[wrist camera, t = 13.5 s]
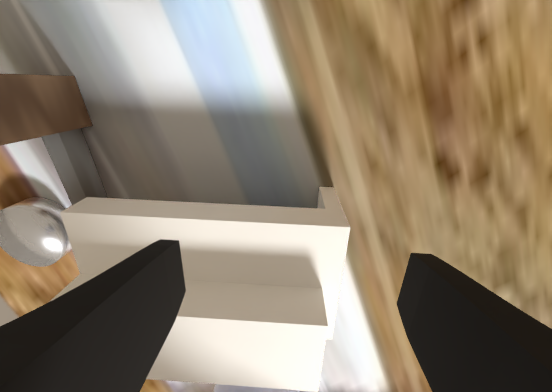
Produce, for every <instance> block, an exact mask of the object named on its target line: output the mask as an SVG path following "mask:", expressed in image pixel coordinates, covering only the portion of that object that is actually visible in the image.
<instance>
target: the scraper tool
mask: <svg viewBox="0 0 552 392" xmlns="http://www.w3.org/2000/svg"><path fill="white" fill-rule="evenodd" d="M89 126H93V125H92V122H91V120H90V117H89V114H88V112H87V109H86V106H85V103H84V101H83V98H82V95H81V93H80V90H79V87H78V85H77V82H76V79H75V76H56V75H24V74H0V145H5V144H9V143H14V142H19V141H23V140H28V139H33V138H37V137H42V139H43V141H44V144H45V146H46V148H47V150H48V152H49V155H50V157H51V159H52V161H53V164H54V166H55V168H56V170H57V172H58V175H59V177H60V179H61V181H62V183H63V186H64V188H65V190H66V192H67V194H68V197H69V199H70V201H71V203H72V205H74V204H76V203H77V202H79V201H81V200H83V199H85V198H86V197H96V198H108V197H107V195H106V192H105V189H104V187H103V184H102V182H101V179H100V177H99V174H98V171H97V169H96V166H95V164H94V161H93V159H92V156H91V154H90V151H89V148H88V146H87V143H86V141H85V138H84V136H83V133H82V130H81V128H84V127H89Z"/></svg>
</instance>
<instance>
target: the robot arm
mask: <svg viewBox="0 0 552 392" xmlns="http://www.w3.org/2000/svg"><path fill="white" fill-rule="evenodd" d="M185 292H186V287H185V280H184V273H183V266H182V258H181V251H180V244H179V240H164V239H160V240H158V241H156V242H154V243H152V244H150V245H148V246H147V247H145V248H143V249H141V250H140V251H138V252H136V253H135V254H133V255H131V256H130V257H128V258H126V259H124V260H123V261H121V262H119V263H118V264H116V265H114V266H113V267H111V268H109V269H108V270H106V271H104V272H102V273H101V274H99V275H97V276H96V277H94V278H92V279H90V280H89V281H87V282H85V283H83V284H81V285H79V286H78V287H76V288H74V289H72V290H70V291H69V292H67V293H65V294H63V295H61V296H59V297H58V298H56V299H54V300H52V301H50V302H49V303H47V304H45V305H43V306H41V307H39V308H37V309H35V310H33V311H31V312H29V313H27V314H25V315H23V316H21V317H19V318H17V319H15V320H13V321H11V322H9V323H7V324H5V325H2V326H0V392H140V390H141V388H142V386H143V384H144V382H145V380H146V378H147V376H148V374H149V372H150V370H151V368H152V366H153V364H154V362H155V360H156V358H157V356H158V354H159V352H160V350H161V348H162V346H163V344H164V342H165V340H166V338H167V336H168V334H169V332H170V330H171V328H172V326H173V324H174V322H175V320H176V317H177V315H178V312H179V309H180V307H181V304H182V301H183V298H184V295H185ZM397 306H398V310H399V313H400V316H401V319H402V323H403V326H404V329H405V331H406V334H407V337H408V339H409V342H410V344H411V346H412V348H413V351H414V353H415V355H416V357H417V359H418V362H419V364H420V366H421V368H422V370H423V372H424V375H425V377H426V379H427V381H428V383H429V385H430V387H431V390H432V392H552V329H551V328H549V327H547V326H546V325H544V324H542V323H541V322H539V321H537V320H536V319H534V318H532V317H531V316H529V315H528V314H526V313H524V312H523V311H521V310H520V309H518V308H516V307H515V306H513V305H512V304H510V303H508V302H507V301H505V300H504V299H502V298H501V297H499V296H498V295H496V294H494V293H493V292H491V291H490V290H488V289H487V288H485V287H484V286H482V285H481V284H479V283H477V282H476V281H474V280H473V279H471V278H470V277H468V276H467V275H465V274H464V273H462V272H460V271H459V270H457V269H456V268H454V267H453V266H451V265H449V264H448V263H446V262H444V261H443V260H441V259H439V258H438V257H436V256H434V255H432V254H420V253H411V255H410V258H409V262H408V266H407V269H406V273H405V276H404V280H403V283H402V287H401V291H400V294H399V298H398V301H397ZM214 392H299V390H288V389H274V388H261V387H248V386H234V385H221V384H215V388H214Z"/></svg>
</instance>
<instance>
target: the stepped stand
mask: <svg viewBox="0 0 552 392" xmlns="http://www.w3.org/2000/svg"><path fill="white" fill-rule="evenodd" d="M60 214H61V217H62V220H63V223H64V226H65V229H66V232H67V235H68V238H69V241H70V244H71V247H72V250H73V253H74V256H75V259H76V262H77V265H78V268H79V272H80V274H79V275H78V276H77V277H76V278H75V279H74V280H73V281H72V282H71V283H70V284H68V285H67V286H66V287H65V288H64V289H63V290H62V291H61V292H60V293H59V294H57V295H56V296H55V297H54V298H53V299H52V300H54V299H56V298H58V297H59V296H61V295H63V294H65V293H67V292H69V291H70V290H72V289H74V288H76V287H78V286H79V285H81V284H83V283H85V282H87V281H89V280H90V279H92V278H94V277H96V276H97V275H99V274H101V273H102V272H104V271H106V270H108V269H109V268H111V267H113V266H114V265H116V264H118V263H119V262H121V261H123V260H124V259H126V258H128V257H130V256H131V255H133V254H135V253H136V252H138V251H140V250H141V249H143V248H145V247H147V246H148V245H150V244H152V243H154V242H156V241H158V240H160V239H164V240H179V244H180V251H181V258H182V266H183V273H184V280H185V287H186V292H185V295H184V298H183V301H182V304H181V307H180V309H179V312H178V315H177V317H176V320H175V322H174V324H173V326H172V328H171V330H170V332H169V334H168V336H167V338H166V340H165V342H164V344H163V346H162V348H161V350H160V352H159V354H158V356H157V358H156V360H155V362H154V364H153V366H152V368H151V370H150V372H149V374H148V376H147V378H146V379H154V380H167V381H181V382H194V383H207V384H221V385H234V386H248V387H261V388H274V389H288V390H301V391H315V392H318V390H319V383H320V377H321V370H322V363H323V357H324V350H325V343H326V339H332V337H333V331H334V325H335V318H336V312H337V306H338V300H339V294H340V288H341V282H342V275H343V269H344V263H345V257H346V251H347V245H348V239H349V232H350V225H349V223H348V220H347V218H346V216H345V213H344V211H343V208H342V206H341V203H340V201H339V199H338V196H337V194H336V191H335V189H334V187H319V195H318V205H317V208H300V207H279V206H259V205H239V204H218V203H198V202H178V201H157V200H137V199H117V198H96V197H86V198H85V199H83V200H81V201H79V202H77V203H76V204H74V205H72V206H70V207H68V208H67V209H65V210H63V211H61V212H60ZM52 300H51V301H52Z"/></svg>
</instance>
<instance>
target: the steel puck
mask: <svg viewBox="0 0 552 392" xmlns="http://www.w3.org/2000/svg"><path fill="white" fill-rule="evenodd" d="M63 210H65V208H64V207H62V206H61V205H59V204H58V203H56V202H54V201H52V200H49V199H46V198H41V197H32V198H28V199H25V200H23V201H20V202H18V203H16V204H14V205H11V206H9V207H7V208H4V209H2V210H0V246H1V248H2V249H3V250H4V251H5V252H7V253H8V254H9V255H10V256H12V257H13V258H15V259H16V260H18V261H20V262H23V263H25V264H28V265H32V266H48V265H51V264H53V263H55V262H56V261H58V260H59V259H60V258H62V257H63V256H64V255H65V254H67V253H68V252H69V251H71V250H72V247H71V244H70V241H69V238H68V235H67V232H66V229H65V226H64V223H63V220H62V217H61V214H60V212H61V211H63Z"/></svg>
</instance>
